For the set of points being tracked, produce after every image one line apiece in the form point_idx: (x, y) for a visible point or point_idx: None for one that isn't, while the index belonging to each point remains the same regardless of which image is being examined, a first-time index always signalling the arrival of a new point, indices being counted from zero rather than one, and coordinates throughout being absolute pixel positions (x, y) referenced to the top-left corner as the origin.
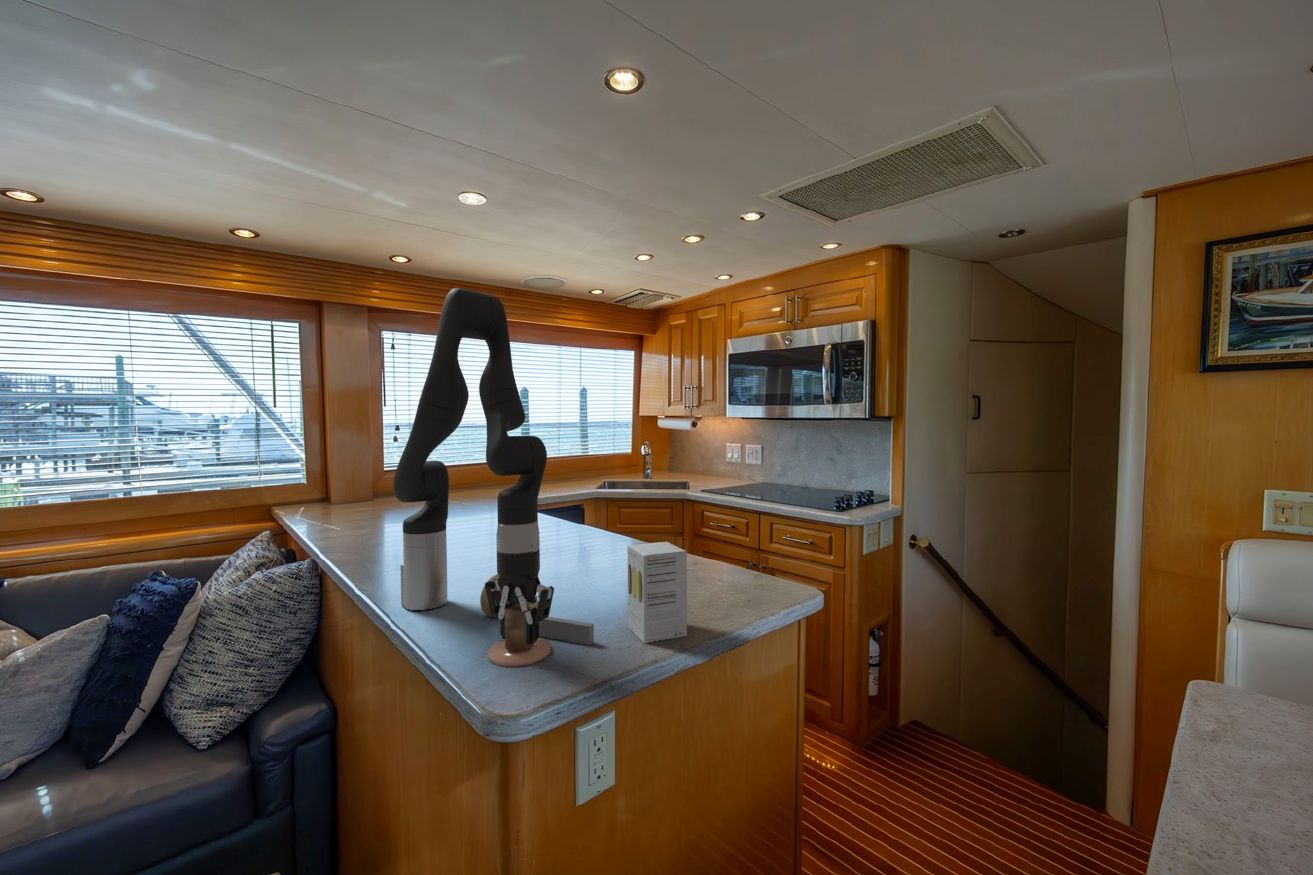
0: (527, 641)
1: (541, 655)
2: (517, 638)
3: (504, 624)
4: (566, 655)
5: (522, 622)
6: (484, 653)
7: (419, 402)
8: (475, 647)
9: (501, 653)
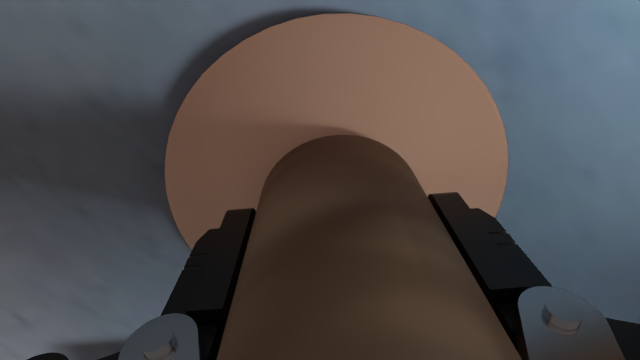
0: (243, 214)
1: (166, 187)
2: (285, 188)
3: (473, 259)
4: (124, 257)
5: (236, 304)
6: (518, 101)
7: None
8: (614, 136)
9: (390, 108)
